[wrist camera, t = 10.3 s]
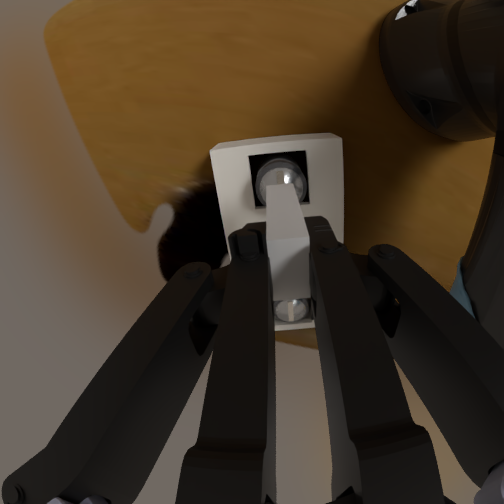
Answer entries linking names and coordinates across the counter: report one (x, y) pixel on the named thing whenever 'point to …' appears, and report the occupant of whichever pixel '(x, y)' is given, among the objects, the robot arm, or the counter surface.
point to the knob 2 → (291, 309)
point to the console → (244, 210)
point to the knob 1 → (280, 175)
